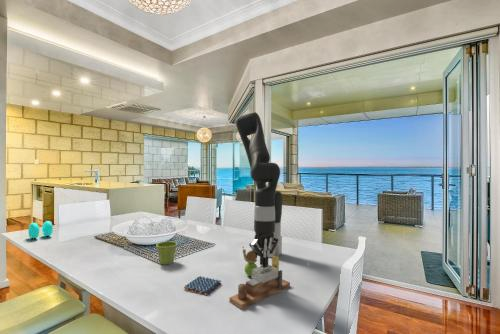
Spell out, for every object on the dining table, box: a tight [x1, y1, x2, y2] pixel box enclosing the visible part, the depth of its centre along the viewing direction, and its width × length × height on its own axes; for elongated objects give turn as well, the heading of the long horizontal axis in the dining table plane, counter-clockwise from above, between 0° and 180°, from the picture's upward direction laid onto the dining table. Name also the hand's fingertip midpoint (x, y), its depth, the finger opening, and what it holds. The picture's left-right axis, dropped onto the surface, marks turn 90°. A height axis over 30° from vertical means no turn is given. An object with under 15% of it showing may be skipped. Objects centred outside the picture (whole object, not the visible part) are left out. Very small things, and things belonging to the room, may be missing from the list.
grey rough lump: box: [250, 264, 278, 283], centre depth 89 cm, size 8×6×3 cm
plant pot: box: [155, 240, 178, 266], centre depth 116 cm, size 9×9×9 cm
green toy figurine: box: [242, 246, 258, 277], centre depth 103 cm, size 5×6×12 cm
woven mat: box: [183, 275, 222, 296], centre depth 92 cm, size 10×11×2 cm
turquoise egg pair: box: [28, 220, 54, 239], centre depth 155 cm, size 10×10×10 cm
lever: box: [271, 255, 280, 274], centre depth 93 cm, size 1×4×6 cm, turn 42°
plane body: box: [228, 269, 291, 310], centre depth 88 cm, size 24×6×7 cm, turn 132°
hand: (264, 266), depth 89 cm, fingers closed
